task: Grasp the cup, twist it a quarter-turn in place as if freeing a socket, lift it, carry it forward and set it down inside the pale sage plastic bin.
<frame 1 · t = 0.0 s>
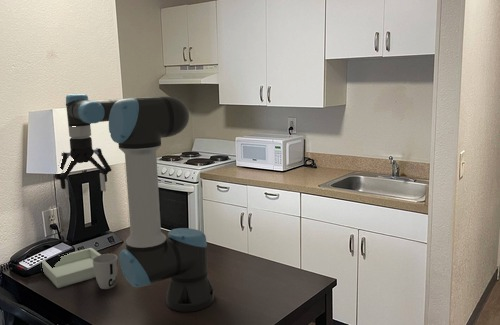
hand: (85, 193, 170), 28 cm above the table, fingers open, 13 cm apart
cup: (107, 286, 157), on the table
bin: (76, 271, 169), on the table
stud post: (129, 266, 173), on the table
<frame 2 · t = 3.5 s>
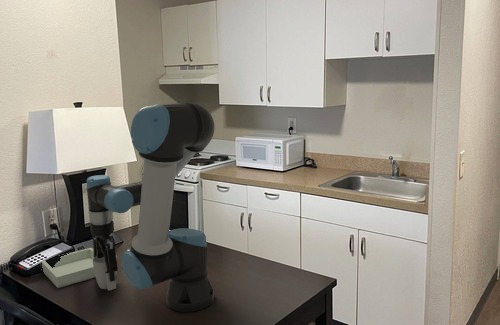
hand: (107, 284, 157), 0 cm above the table, fingers closed on cup, 8 cm apart
cup: (107, 286, 157), on the table, touching gripper
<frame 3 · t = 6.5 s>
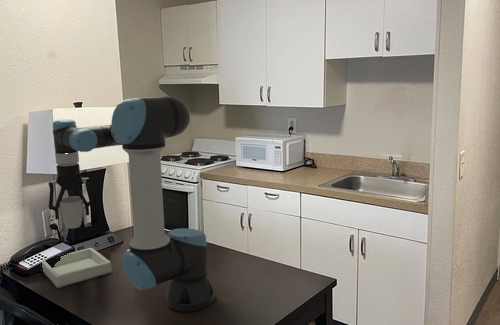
hand: (73, 225, 165), 18 cm above the table, fingers closed on cup, 8 cm apart
cup: (73, 226, 166), point 18 cm above the table, touching gripper
when the fingers open (4 cm above the table, at t = 9.6 s): cup drops 3 cm, resting on bin.
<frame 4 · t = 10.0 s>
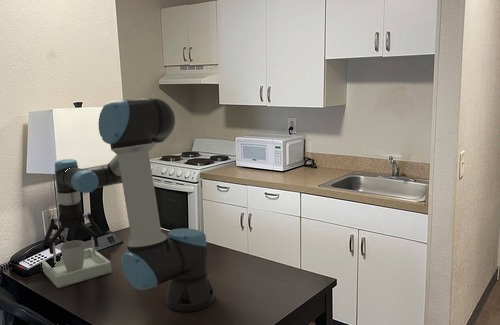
hand: (75, 258, 168), 5 cm above the table, fingers open, 13 cm apart
cup: (74, 270, 169), resting on bin
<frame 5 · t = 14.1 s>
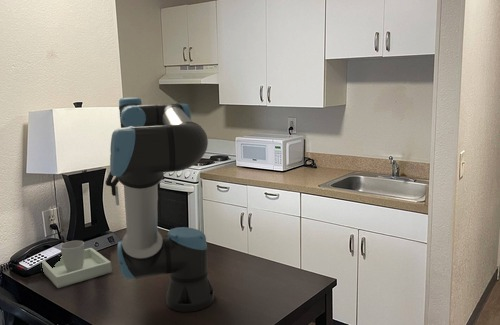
hand: (137, 201, 162), 27 cm above the table, fingers open, 13 cm apart
nothing on the table moved.
at the end: cup inside the target area on the bin (0.5 cm from its centre), point 0.4 cm above the bin's base; cup tilted 0°; the gripper is holding nothing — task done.
